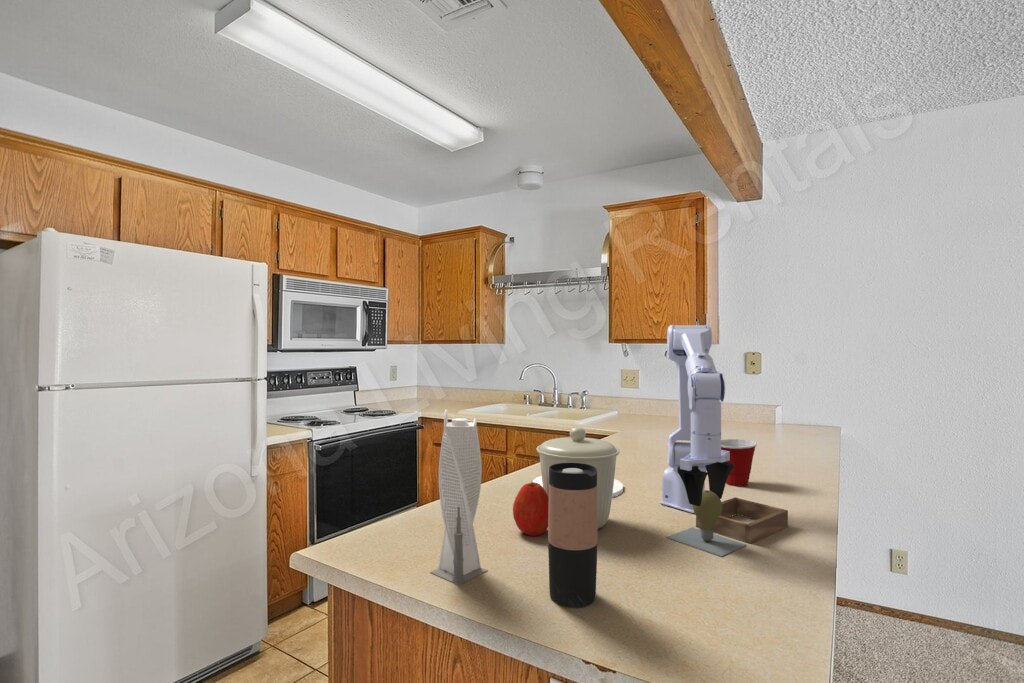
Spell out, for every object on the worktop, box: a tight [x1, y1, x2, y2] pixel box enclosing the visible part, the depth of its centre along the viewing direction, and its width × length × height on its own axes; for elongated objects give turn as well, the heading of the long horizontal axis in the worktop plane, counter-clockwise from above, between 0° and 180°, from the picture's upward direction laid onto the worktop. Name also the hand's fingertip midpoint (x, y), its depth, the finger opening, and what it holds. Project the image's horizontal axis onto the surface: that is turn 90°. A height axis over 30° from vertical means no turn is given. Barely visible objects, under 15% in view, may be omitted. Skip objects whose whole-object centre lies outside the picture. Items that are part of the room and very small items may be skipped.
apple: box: [512, 481, 549, 537], centre depth 109 cm, size 8×8×11 cm
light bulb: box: [692, 489, 723, 542], centre depth 103 cm, size 6×6×10 cm
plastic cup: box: [721, 438, 758, 487], centre depth 147 cm, size 11×11×12 cm
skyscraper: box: [429, 408, 489, 586], centre depth 90 cm, size 8×8×28 cm
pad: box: [666, 527, 747, 558], centre depth 104 cm, size 12×9×1 cm
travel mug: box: [547, 463, 599, 609], centre depth 81 cm, size 8×8×20 cm
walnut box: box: [695, 497, 789, 545], centre depth 112 cm, size 12×16×4 cm
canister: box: [536, 426, 621, 530], centre depth 114 cm, size 18×18×21 cm
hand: (705, 501), depth 104 cm, fingers open, 7 cm apart
